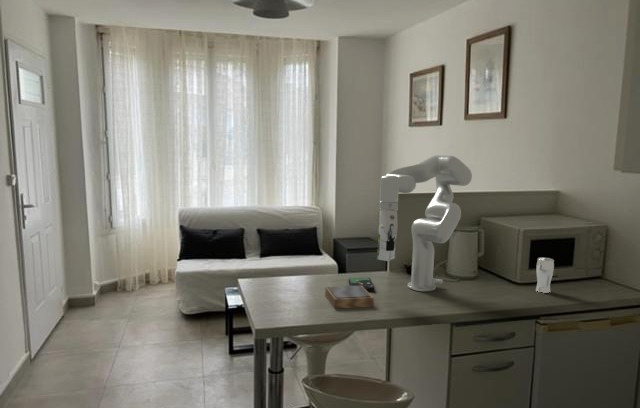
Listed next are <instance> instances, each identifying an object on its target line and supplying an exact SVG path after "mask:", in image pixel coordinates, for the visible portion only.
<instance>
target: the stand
mask: <svg viewBox="0 0 640 408" xmlns="http://www.w3.org/2000/svg"><path fill="white" fill-rule="evenodd" d="M324 287H325V290H324V291H325V292H324V296H325V297H326V298H327V301H328V302H329V303H330V304H331V306H332V307H333V309H352V308H356V309H357V308H373V307H374V302H375V301H374V300H375V298H374V296H373V295H372V294H371V292H368V291H367V290H366V289H365V288H364V287H363V286H350V285H346V286H344V285H343V286H324Z"/></svg>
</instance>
